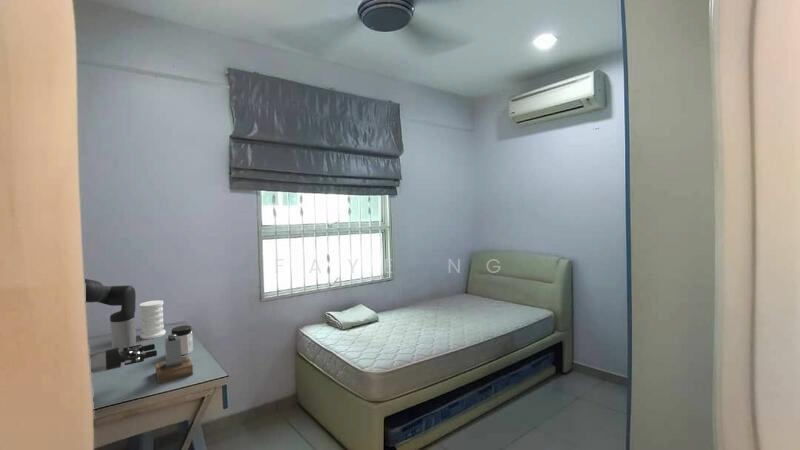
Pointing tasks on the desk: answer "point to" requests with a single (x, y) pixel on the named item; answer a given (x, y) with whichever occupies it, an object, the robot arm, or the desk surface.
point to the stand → (174, 370)
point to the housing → (173, 351)
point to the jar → (184, 338)
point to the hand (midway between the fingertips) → (155, 349)
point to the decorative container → (152, 319)
